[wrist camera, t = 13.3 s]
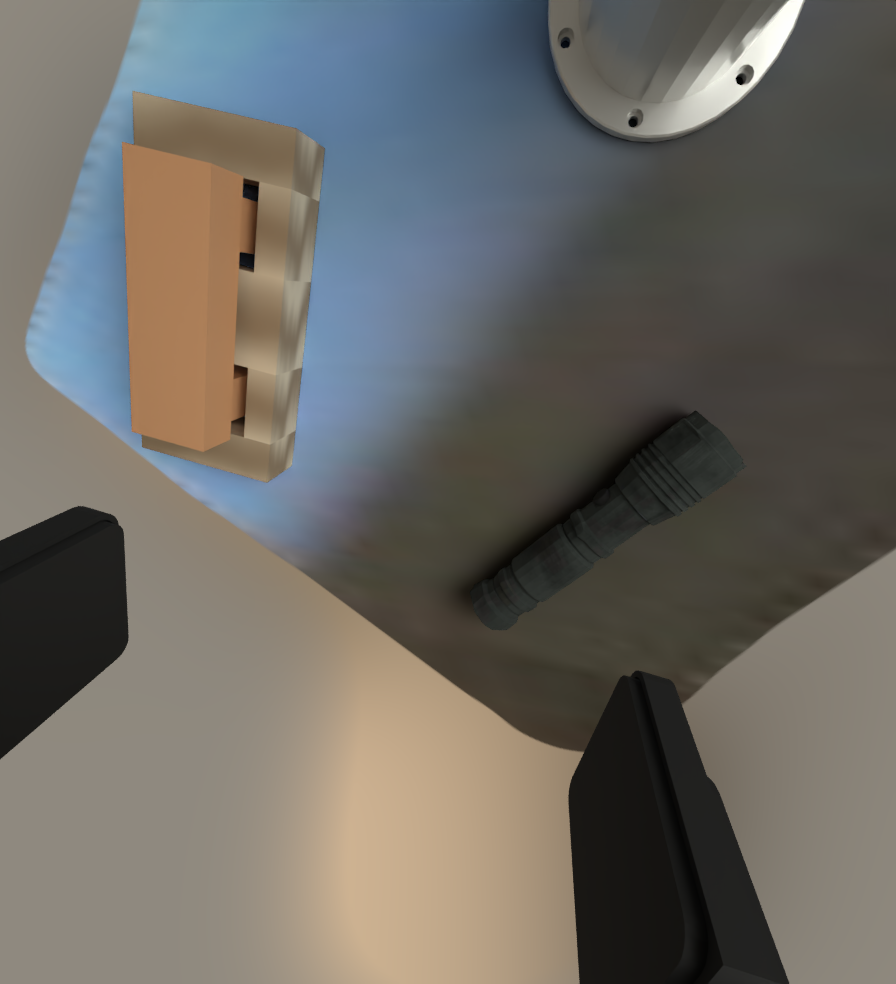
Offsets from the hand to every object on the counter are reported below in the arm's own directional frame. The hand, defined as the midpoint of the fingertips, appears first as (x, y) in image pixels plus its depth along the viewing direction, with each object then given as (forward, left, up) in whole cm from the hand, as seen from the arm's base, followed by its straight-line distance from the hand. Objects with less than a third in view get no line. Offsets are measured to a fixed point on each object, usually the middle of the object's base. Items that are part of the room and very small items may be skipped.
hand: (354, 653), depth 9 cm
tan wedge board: (-1, -19, -28) cm, 34 cm away
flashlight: (+8, +10, -29) cm, 31 cm away
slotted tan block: (-1, -19, -28) cm, 34 cm away
